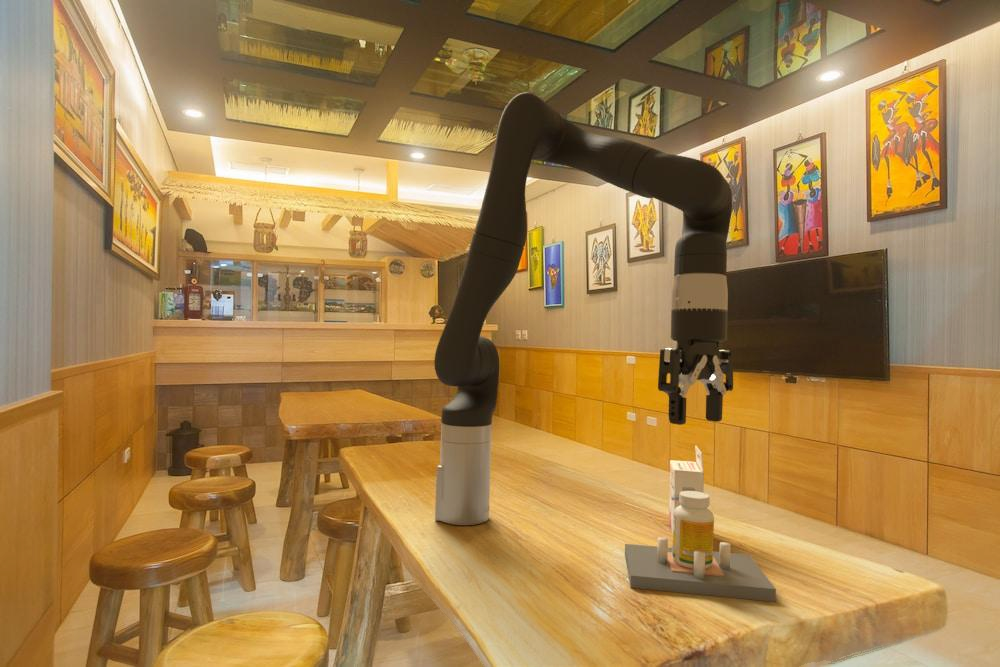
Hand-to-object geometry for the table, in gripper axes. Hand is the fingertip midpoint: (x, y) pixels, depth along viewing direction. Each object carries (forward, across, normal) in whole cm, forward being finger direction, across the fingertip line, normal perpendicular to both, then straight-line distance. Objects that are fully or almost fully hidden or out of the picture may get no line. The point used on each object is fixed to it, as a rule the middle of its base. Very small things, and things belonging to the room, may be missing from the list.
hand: (696, 422), depth 78 cm
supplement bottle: (+20, 0, 0) cm, 20 cm away
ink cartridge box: (+22, +15, +12) cm, 29 cm away
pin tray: (+22, 0, 0) cm, 22 cm away
